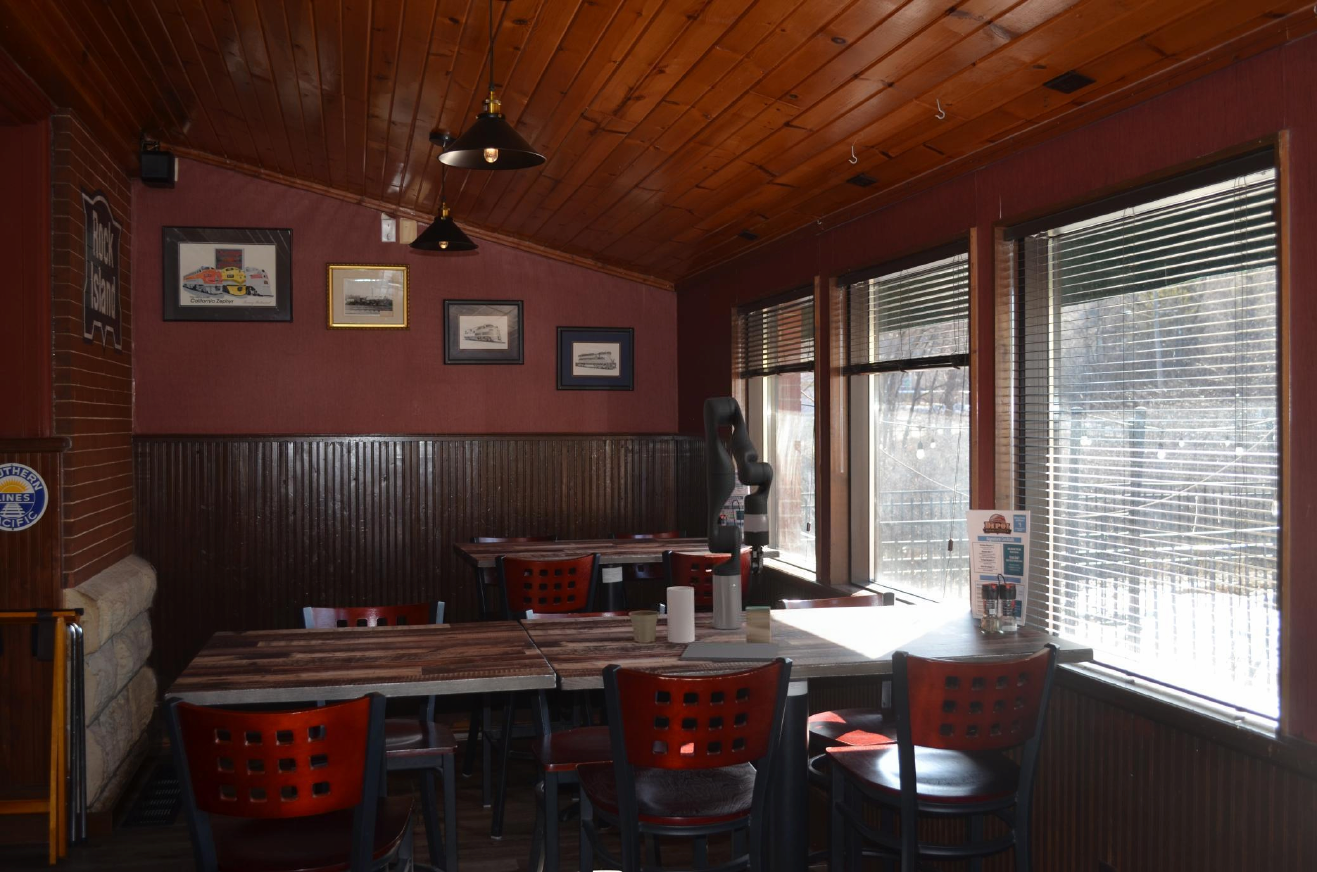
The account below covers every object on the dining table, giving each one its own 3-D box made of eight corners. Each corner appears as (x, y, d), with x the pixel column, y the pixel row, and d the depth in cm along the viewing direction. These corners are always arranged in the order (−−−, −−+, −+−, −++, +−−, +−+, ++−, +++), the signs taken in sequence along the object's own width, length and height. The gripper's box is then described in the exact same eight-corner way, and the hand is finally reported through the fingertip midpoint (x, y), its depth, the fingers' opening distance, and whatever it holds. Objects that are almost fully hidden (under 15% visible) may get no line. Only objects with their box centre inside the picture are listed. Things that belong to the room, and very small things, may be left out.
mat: (690, 645, 319) (690, 642, 319) (778, 646, 315) (778, 643, 315) (680, 660, 298) (680, 656, 298) (774, 661, 293) (774, 658, 293)
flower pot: (635, 645, 321) (635, 616, 321) (624, 640, 330) (624, 612, 330) (664, 642, 325) (664, 614, 325) (653, 637, 334) (652, 609, 334)
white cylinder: (670, 643, 323) (669, 590, 323) (665, 638, 331) (664, 586, 331) (697, 642, 325) (696, 589, 325) (691, 637, 333) (690, 585, 333)
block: (747, 643, 322) (746, 606, 322) (770, 643, 320) (770, 606, 321) (746, 645, 318) (745, 608, 318) (770, 646, 317) (769, 608, 317)
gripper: (745, 527, 327) (746, 580, 327) (741, 531, 313) (742, 586, 313) (770, 527, 326) (771, 580, 326) (767, 531, 312) (768, 587, 312)
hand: (757, 583), depth 319 cm, fingers open, 8 cm apart
